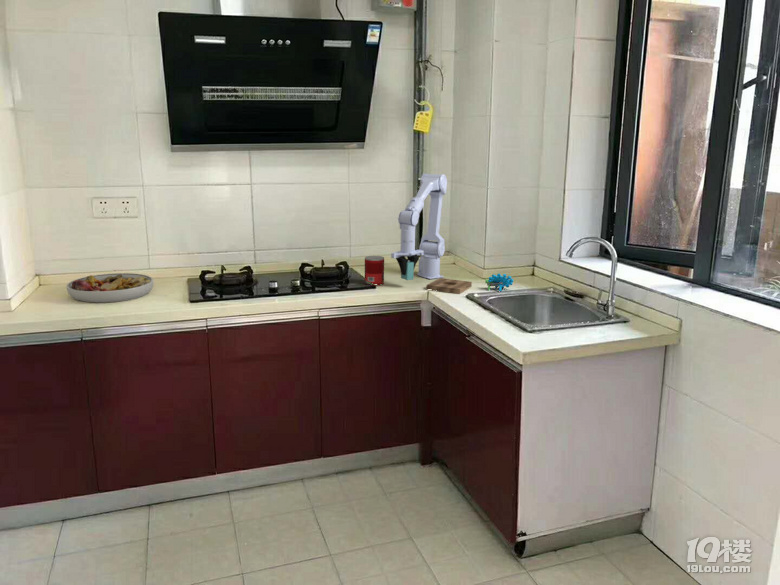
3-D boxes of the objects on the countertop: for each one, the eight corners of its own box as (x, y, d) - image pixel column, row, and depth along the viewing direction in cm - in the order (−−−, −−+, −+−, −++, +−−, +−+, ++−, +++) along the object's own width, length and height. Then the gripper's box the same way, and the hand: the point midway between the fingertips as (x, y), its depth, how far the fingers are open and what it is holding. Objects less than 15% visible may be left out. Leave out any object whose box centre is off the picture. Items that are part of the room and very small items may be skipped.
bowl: (118, 281, 262) (116, 262, 260) (171, 291, 248) (169, 271, 246) (49, 297, 237) (47, 277, 235) (105, 309, 223) (102, 287, 221)
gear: (515, 284, 260) (511, 271, 252) (514, 297, 257) (510, 284, 249) (488, 286, 264) (483, 272, 256) (487, 298, 261) (482, 285, 253)
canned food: (386, 284, 264) (387, 258, 261) (368, 286, 261) (368, 259, 258) (380, 280, 270) (380, 255, 268) (362, 282, 268) (362, 256, 265)
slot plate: (426, 289, 257) (426, 284, 256) (439, 282, 269) (439, 277, 268) (459, 294, 251) (459, 289, 250) (471, 286, 263) (471, 281, 262)
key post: (401, 277, 260) (401, 259, 258) (407, 277, 262) (407, 258, 260) (407, 280, 257) (407, 261, 255) (413, 279, 258) (413, 260, 256)
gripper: (398, 244, 248) (397, 278, 252) (428, 240, 256) (427, 274, 260) (388, 241, 254) (387, 274, 257) (418, 238, 262) (417, 270, 265)
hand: (407, 274), depth 259 cm, fingers closed on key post, 3 cm apart
